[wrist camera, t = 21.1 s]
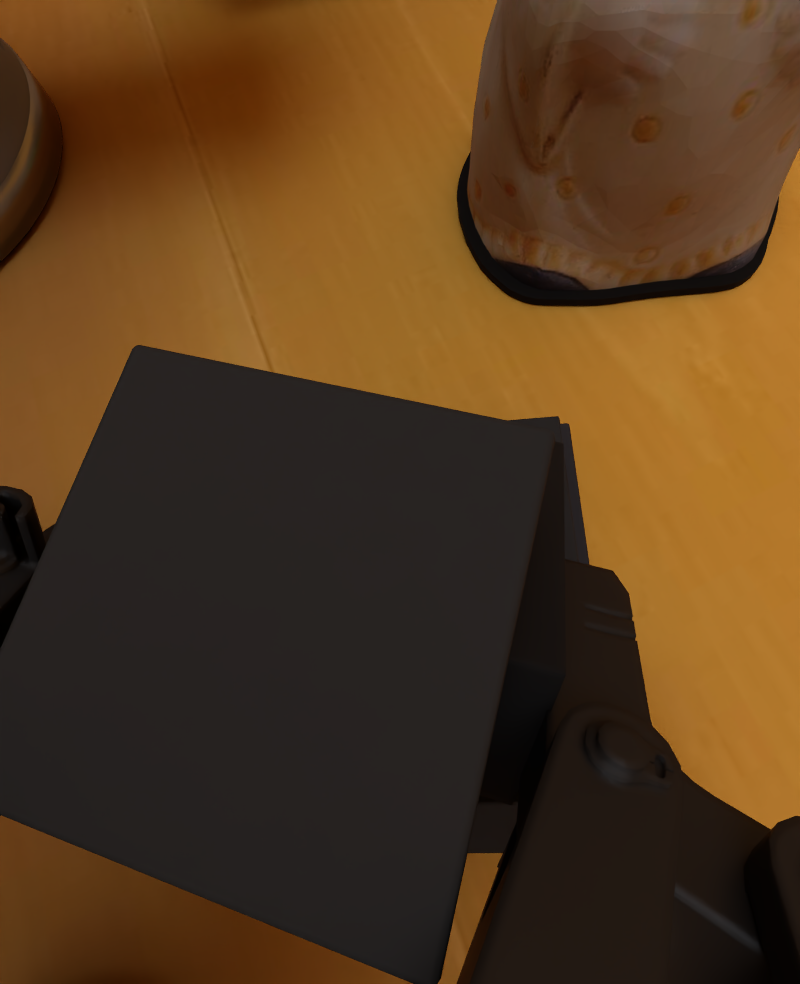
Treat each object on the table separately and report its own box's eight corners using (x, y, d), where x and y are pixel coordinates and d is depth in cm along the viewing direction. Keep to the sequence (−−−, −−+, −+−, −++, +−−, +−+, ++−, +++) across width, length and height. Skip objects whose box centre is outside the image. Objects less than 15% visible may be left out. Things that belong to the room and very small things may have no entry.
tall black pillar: (279, 688, 14) (-68, 792, 5) (331, 519, 16) (131, 339, 6) (452, 743, 14) (437, 1001, 4) (494, 561, 15) (559, 427, 5)
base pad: (225, 460, 19) (164, 416, 15) (563, 433, 17) (592, 377, 14) (206, 839, 15) (122, 908, 12) (620, 835, 14) (679, 910, 10)
